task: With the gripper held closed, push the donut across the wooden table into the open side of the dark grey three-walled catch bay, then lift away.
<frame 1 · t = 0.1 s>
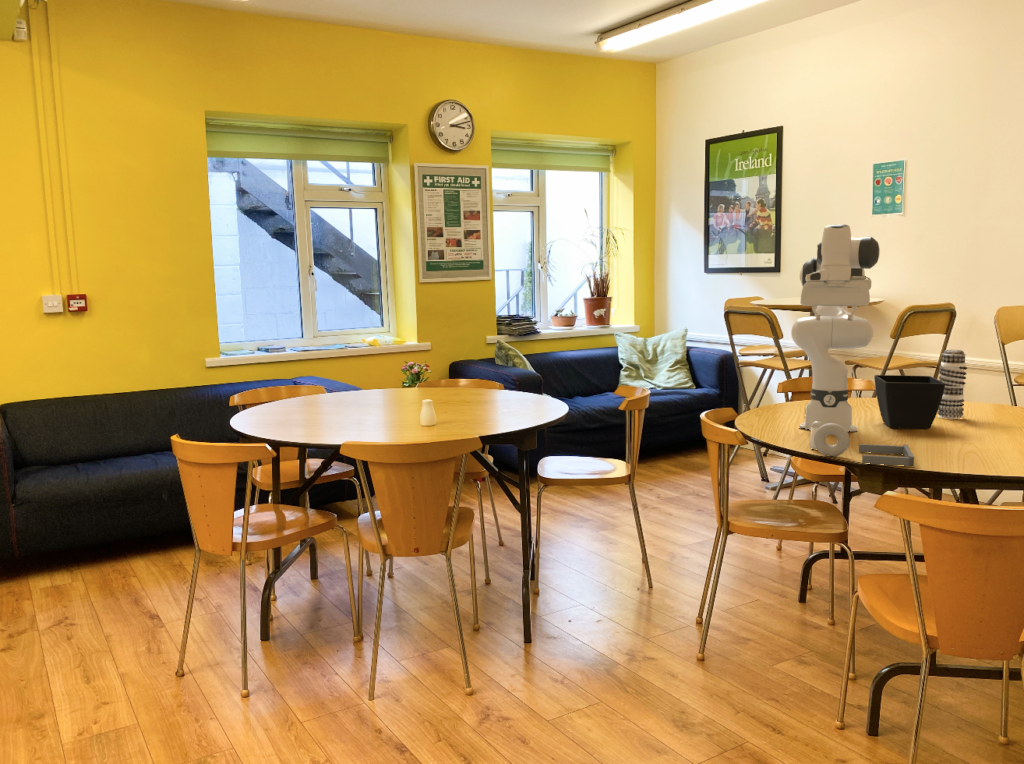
hand: (833, 320, 260), 39 cm above the table, tool pointing down, fingers open, 8 cm apart
flower pot: (906, 426, 292), on the table
salt shaker: (816, 449, 255), on the table
donut: (830, 457, 245), on the table
decorative candle: (950, 418, 308), on the table
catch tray: (885, 459, 241), on the table
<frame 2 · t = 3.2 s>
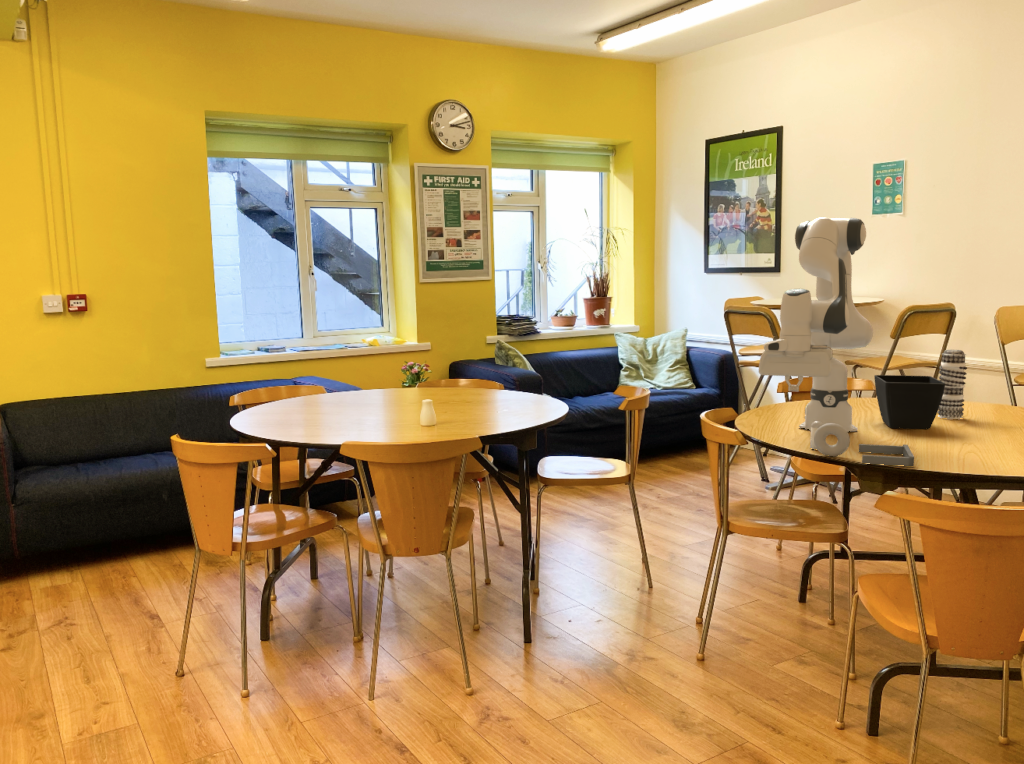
hand: (793, 391, 247), 19 cm above the table, tool pointing down, fingers closed
nothing on the table moved.
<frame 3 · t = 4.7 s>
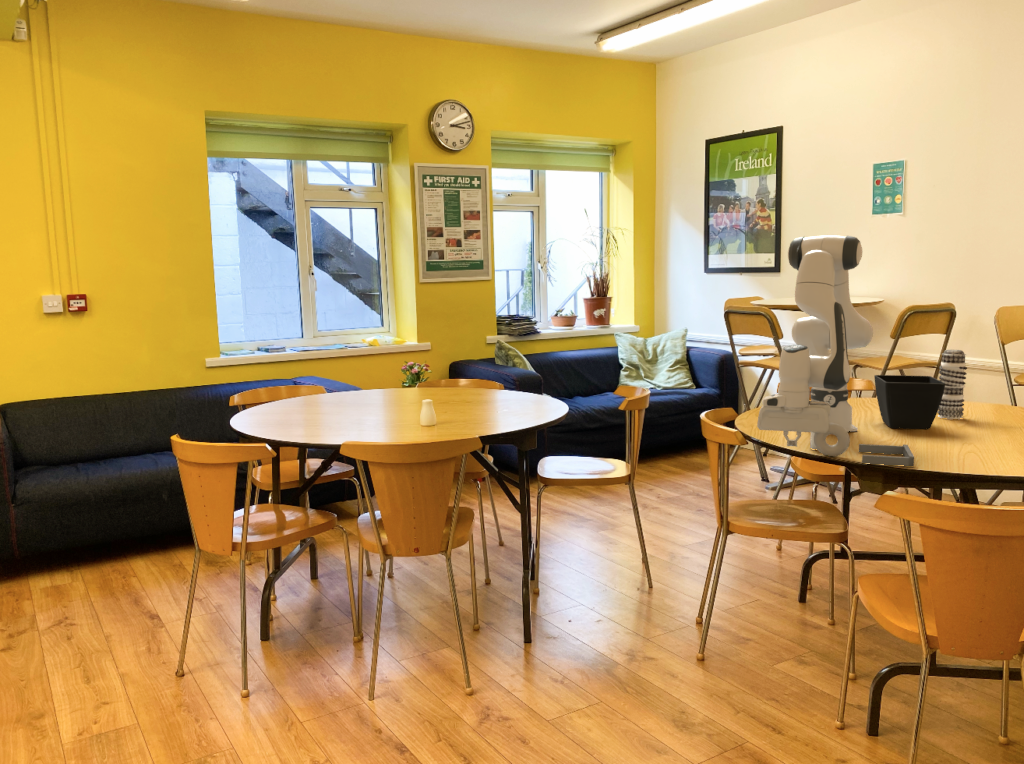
hand: (792, 446, 249), 2 cm above the table, tool pointing down, fingers closed
nothing on the table moved.
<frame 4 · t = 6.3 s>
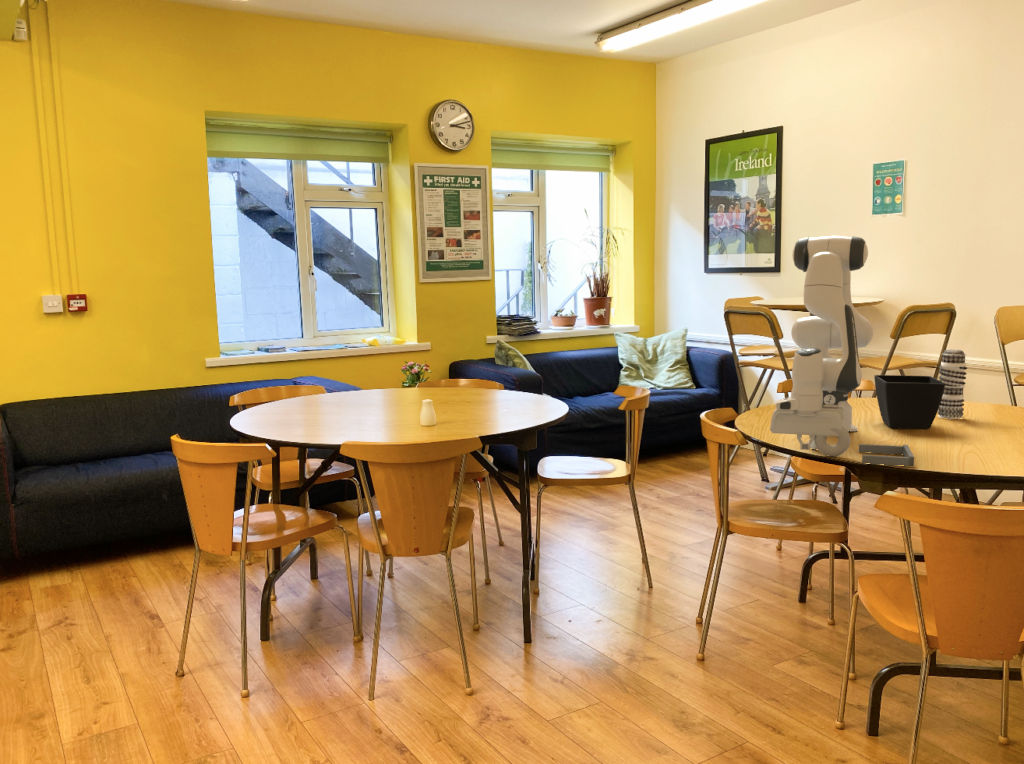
hand: (805, 449, 248), 2 cm above the table, tool pointing down, fingers closed
donut: (831, 457, 245), on the table, touching gripper
everything else where it was.
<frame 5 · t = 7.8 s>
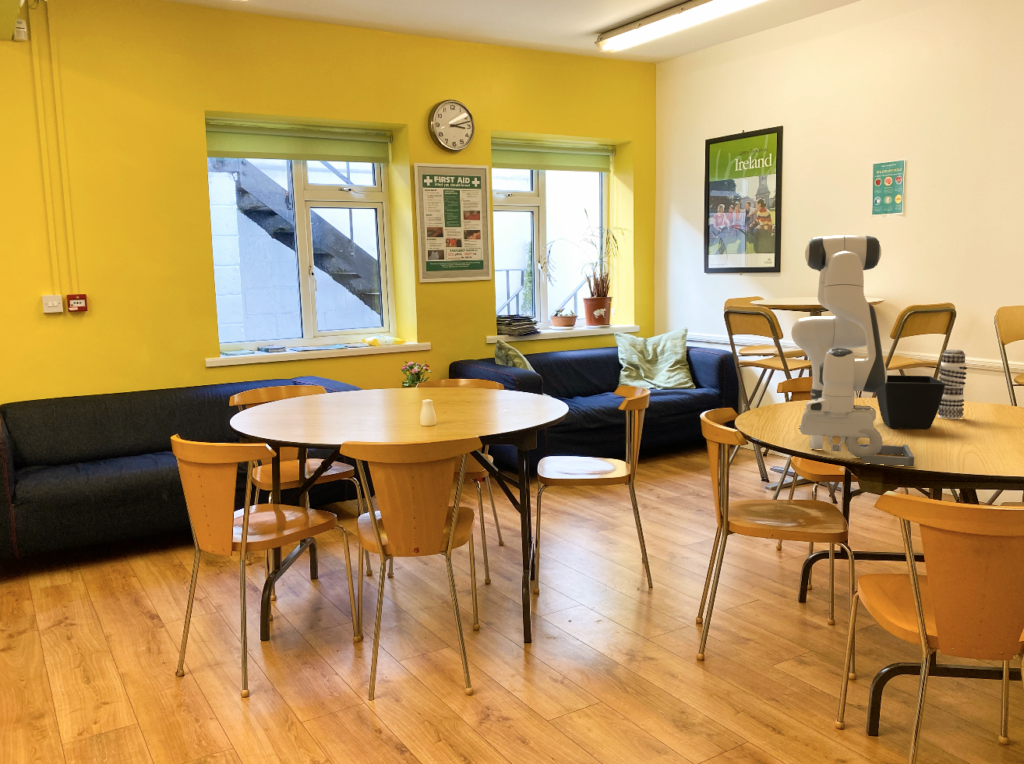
hand: (835, 451, 245), 2 cm above the table, tool pointing down, fingers closed
donut: (862, 459, 242), on the table, touching gripper
everything else where it was.
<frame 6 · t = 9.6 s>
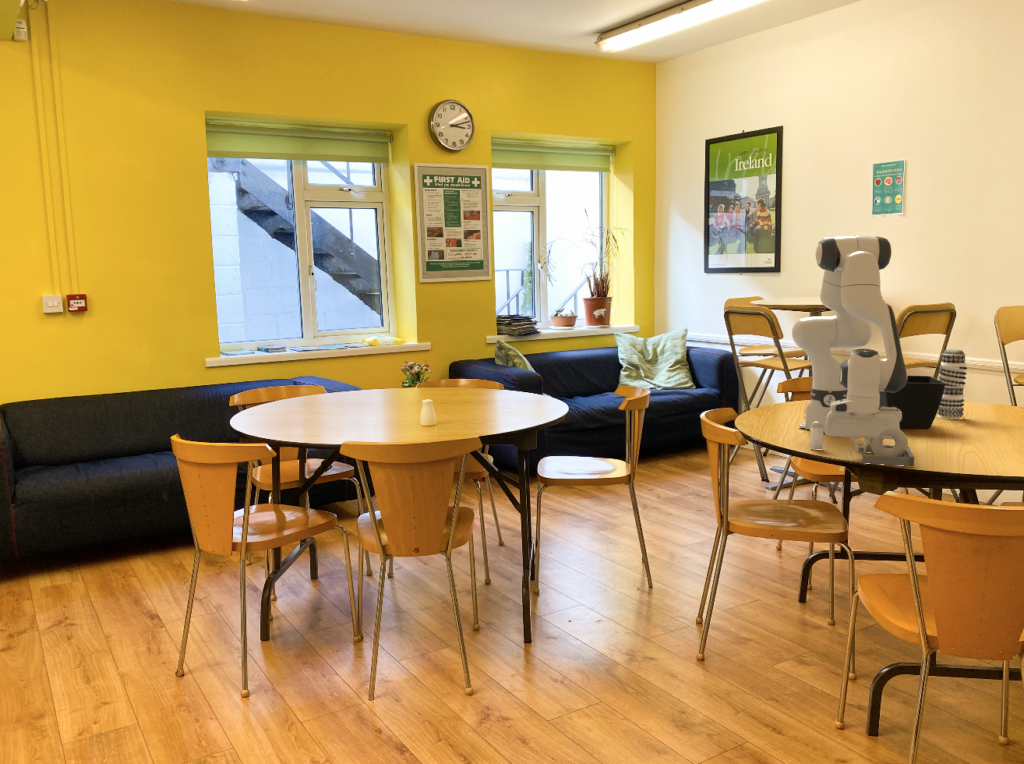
hand: (860, 452, 243), 2 cm above the table, tool pointing down, fingers closed
donut: (887, 460, 240), on the table, touching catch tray, gripper
everything else where it was.
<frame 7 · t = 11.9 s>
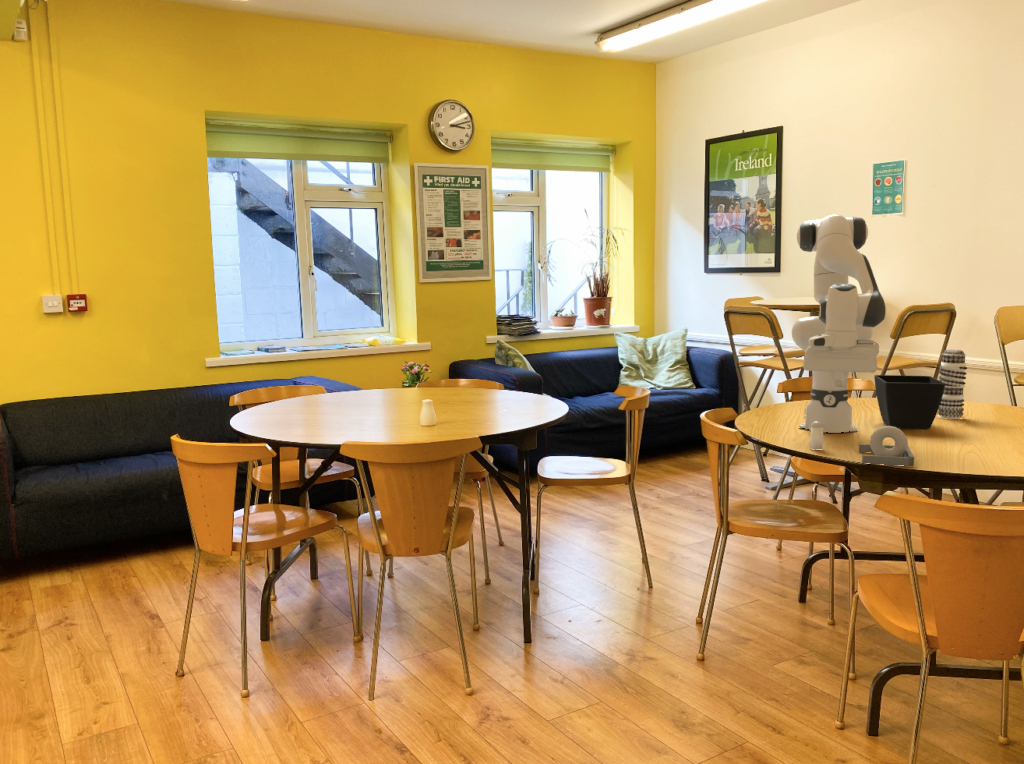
hand: (838, 386, 245), 20 cm above the table, tool pointing down, fingers closed
donut: (887, 460, 240), on the table
everything else where it was.
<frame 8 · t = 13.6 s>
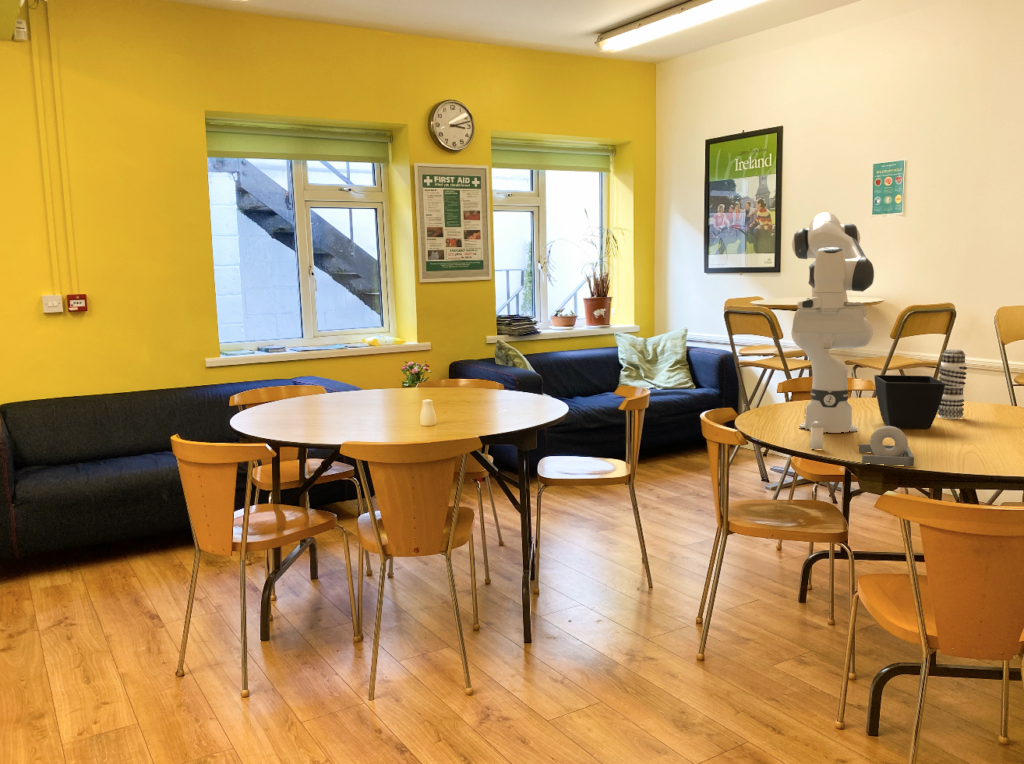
hand: (827, 348, 250), 31 cm above the table, tool pointing down, fingers closed
nothing on the table moved.
at the end: donut inside the target area on the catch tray (1.1 cm from its centre), point 0.0 cm above the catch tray's base; donut moved 15.3 cm from its start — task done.
